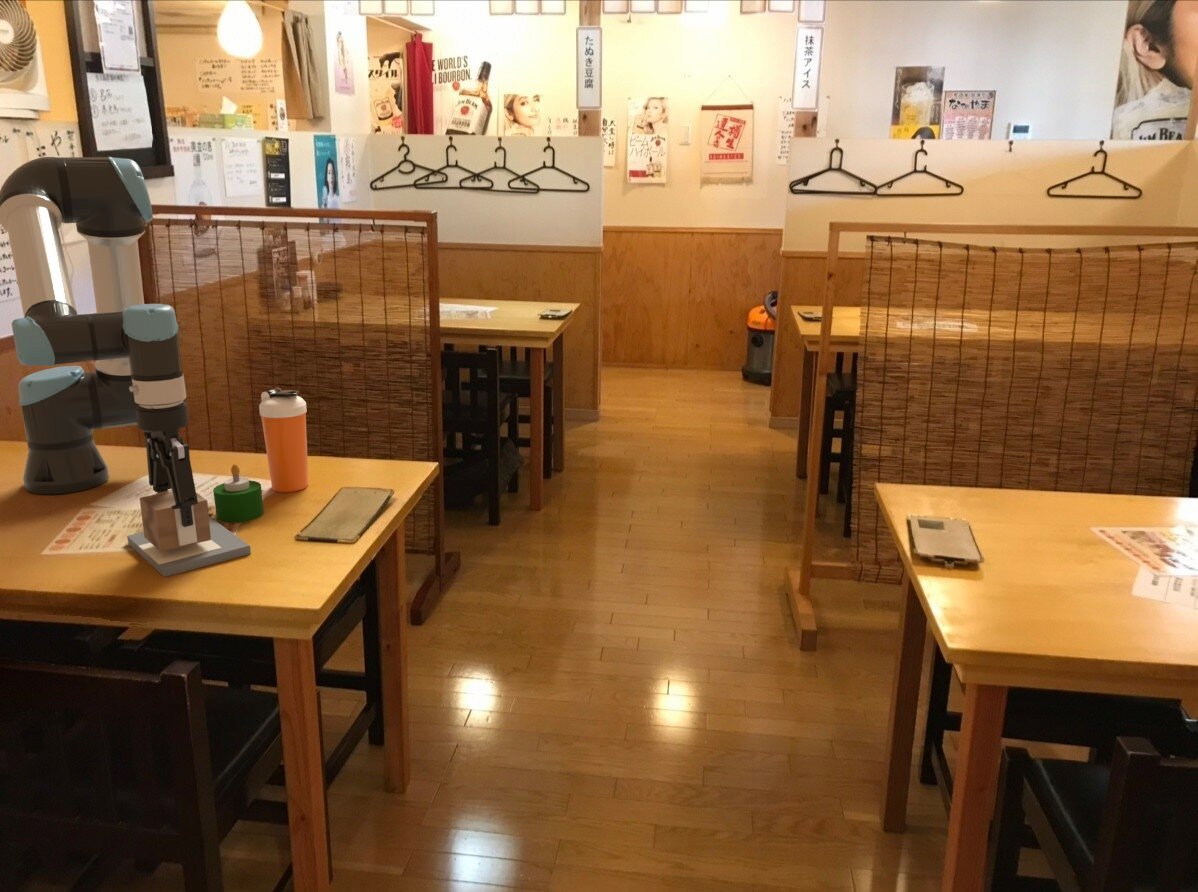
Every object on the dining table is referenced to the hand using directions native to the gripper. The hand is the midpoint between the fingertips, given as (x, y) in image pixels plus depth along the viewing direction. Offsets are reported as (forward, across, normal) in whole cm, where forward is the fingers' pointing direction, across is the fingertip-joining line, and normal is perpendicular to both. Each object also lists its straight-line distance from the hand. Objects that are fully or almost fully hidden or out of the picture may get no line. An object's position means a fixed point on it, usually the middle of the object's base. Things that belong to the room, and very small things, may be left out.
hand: (178, 535), depth 155 cm
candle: (+4, -12, +15) cm, 20 cm away
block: (+1, 0, 0) cm, 1 cm away
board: (+4, -2, +2) cm, 5 cm away
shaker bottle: (+4, -21, +29) cm, 36 cm away
